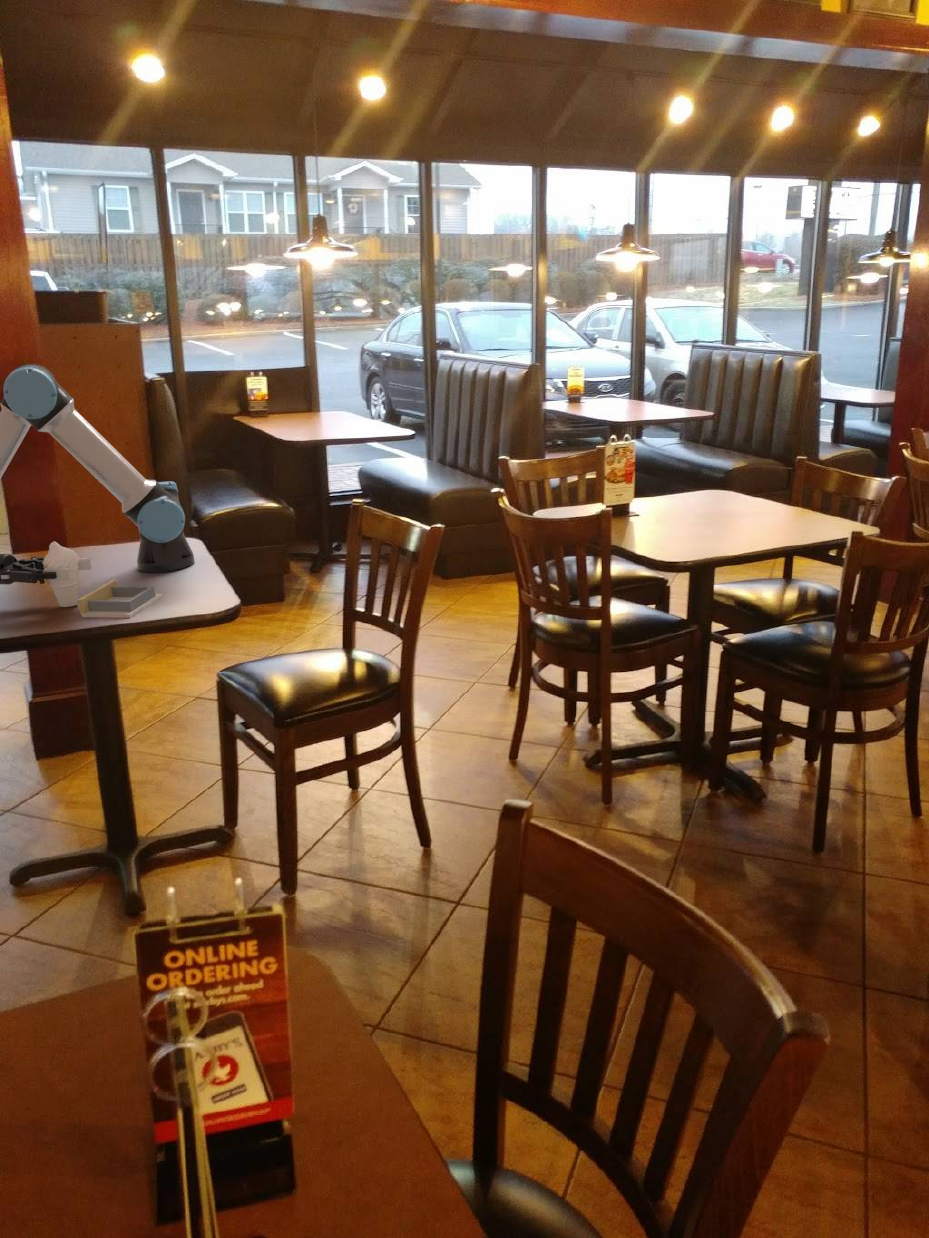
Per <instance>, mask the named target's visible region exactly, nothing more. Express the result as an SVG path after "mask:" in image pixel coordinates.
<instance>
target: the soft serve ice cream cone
mask: <svg viewBox="0 0 929 1238" xmlns="http://www.w3.org/2000/svg"><path fill="white" fill-rule="evenodd" d="M48 548H49V549H48V552H47V554H46V555H45V556H43V557H44V561H43V562H42V564H43V565H44V566H43V567H44V568H56V569H70V572H71V577H72V580H49V583H50V587H51V588H52V590H53V593H54V596H55V598H56V600H57V603H58V605H59V606H60V607H61V608H69V607H70V608H71V607H75V606H77V605H78V599H79V586H80V585H79V583H80V580H79V570H78V565H77V564H78V561H79V558H80V557H79V555H78V553H77V552H75V551H74V550H72V549H71V548H69V547H65V546H62V545H60V544H59V543H58V542H56V541H51V543H50V544H49V545H48Z"/></svg>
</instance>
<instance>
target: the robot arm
mask: <svg viewBox="0 0 929 1238" xmlns="http://www.w3.org/2000/svg"><path fill="white" fill-rule="evenodd" d="M2 390H3V398H2V399H1V401H0V407H1V411H0V480H1V479H2V477H3V476H4V473H5V472H6V470H7V468H8V467H9V465H10V463H11V462H12V460H13V458H14V456H15V454H16V452H17V451H18V449H19V448H20V446H21V444H22V442H23V440H24V438H25V436H26V435H27V434H28V432H29V429H30V428H31V426H32V427H33V428H34V429H35V430H36V431H37V432H42V433H48V434H49V435H51V436H52V438H53V439H54V440H55V441H57V442H58V443H59V444H60V445H61V446H62V447H63V448H64V449H65V450H66V451H67V452H68V453H69V454H70V455H72V457H73V458H74V459H75V460H76V461H77V462H79V463H80V464H81V466H83V467H84V468H85V469H86V470H87V471H88V472H89V473H90V474H91V475H92V476H93V477H94V478H95V479H96V480H97V481H98V482H99V483H100V484H101V485H103V487H104V488H105V489H106V490H108V492H109V493H111V494H112V495H113V496H114V497H115V498H116V499H117V500H118V501H119V502H120V503H121V512H122V513H123V514H124V515H125V516H126V518H128V519H129V520H130V521H131V522H133V523H134V525H135V526H137V528H138V533H139V548H138V553H137V558H136V563H137V569H138V571H141V572H142V573H143V572H144V573H164V572H165V573H167V572H172V571H178V570H177V569H179V570H182V569H185V568H184V567H186V568H188V567H191V566H192V565H193V564H195V555H194V552H193V551H192V548H191V546H190V545H189V542H188V540H187V538H186V536H185V533H184V527H185V523H186V515H185V510H184V508H183V507H182V505H181V503H180V499H179V498H180V497H179V489H178V487H177V486H178V485H177V483H176V482H175V481H168V480H167V481H157V480H156V479H147V478H145V477H144V475H142V474H141V473H140V472H139V471H138V470H137V469H136V468H135V467H134V466H133V465H132V464H131V463H130V462H129V461H128V460H127V459H126V457H124V456H123V455H122V454H121V452H119V451H118V450H117V449H116V448H115V447H114V446H113V445H112V444H111V443H110V442H109V441H108V440H107V439H106V438H105V437H104V436H103V435H102V434H100V432H99V431H98V430H97V429H96V428H95V427H93V425H92V424H91V423H90V422H89V421H88V420H86V418H85V417H84V416H83V415H82V414H80V413H79V412H78V411H77V409H76V408H75V400H74V398H73V397H72V396H71V395H70V394H69V393H68V392H67V391H66V390H65V389H64V388H63V386H61V385H60V384H59V383H58V381H57V379H56V377H55V375H54V374H53V373H52V372H51V371H50V370H49V369H48V368H46V367H45V366H43V365H40V364H36V363H26V364H22V365H20V366H18V367H16V368H15V369H14V370H13V371H11V372H10V373H9V374H8V376H6V379H5V380H4V383H3V389H2ZM44 557H45V556H41V557H40V556H31V557H30V559H26V558H23V559H19V560H18V559H17V558H16V557H15V556H14V555H13V554H10V553H0V585H12V584H14V583H25V584H26V583H27V584H36V583H38V582H39V584H40V585H43V584H45V583H46V581H50V580H72V577H71V572H70V569H56V568H44V567H43V566H44V565H43V564H42V562H43V561H44ZM77 565H78V571H91V570H92V564H91V559H90V558H88V557H87V558H86V557H85V558H84V557H82V558H80V557H79V561H78V564H77ZM187 566H188V567H187ZM181 568H182V569H181Z"/></svg>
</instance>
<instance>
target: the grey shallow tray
mask: <svg viewBox="0 0 929 1238" xmlns="http://www.w3.org/2000/svg"><path fill="white" fill-rule="evenodd" d="M162 597H163V594H162V593H156V590H155V586H154V585H153V586H145V585H144V586H140V585H138V586H137V585H136V586H134V585H133V586H132V585H125V586H124V585H121V586H119V585H118V580H117V579H112V580H110V581H108V582H106V583H104V584H103V585H101V586H99V587H98V588H96V589H94V590H92V591H90V592H89V593H87V594H85V595H84V596H81V597H80V598H78V604H77V605H78V610H79V615H81V618H105V619H106V618H107V619H109V618H112V619H114V618H116V619H117V618H119V619H120V618H122V619H126V618H127V619H130V618H132V617H134V616H135V615H136V614H139V613H140V612H142V611H143V610H145V609H146V608H147V607H149V606H150V605H152V604H154V603H155V602H157V601H158V600H159V599H161V598H162ZM133 615H134V616H133Z"/></svg>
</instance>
